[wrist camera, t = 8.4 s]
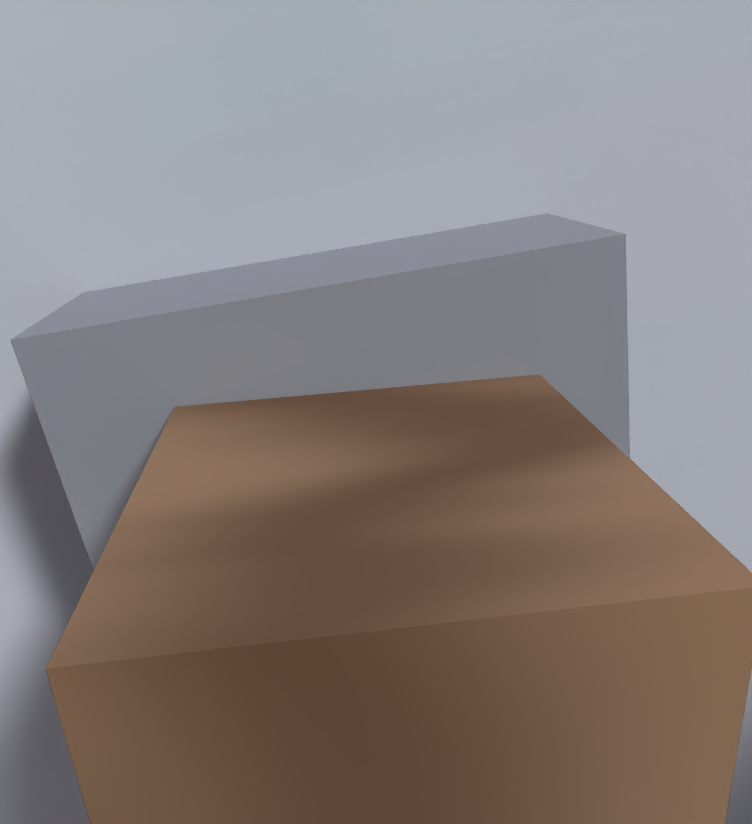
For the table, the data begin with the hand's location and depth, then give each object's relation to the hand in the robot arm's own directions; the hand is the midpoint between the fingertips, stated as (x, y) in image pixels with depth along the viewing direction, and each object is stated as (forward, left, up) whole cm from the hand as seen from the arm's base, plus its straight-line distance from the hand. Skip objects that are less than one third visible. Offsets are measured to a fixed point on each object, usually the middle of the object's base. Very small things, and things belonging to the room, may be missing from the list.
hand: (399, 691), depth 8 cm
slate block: (0, 0, -6) cm, 6 cm away
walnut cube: (0, 0, -3) cm, 3 cm away
